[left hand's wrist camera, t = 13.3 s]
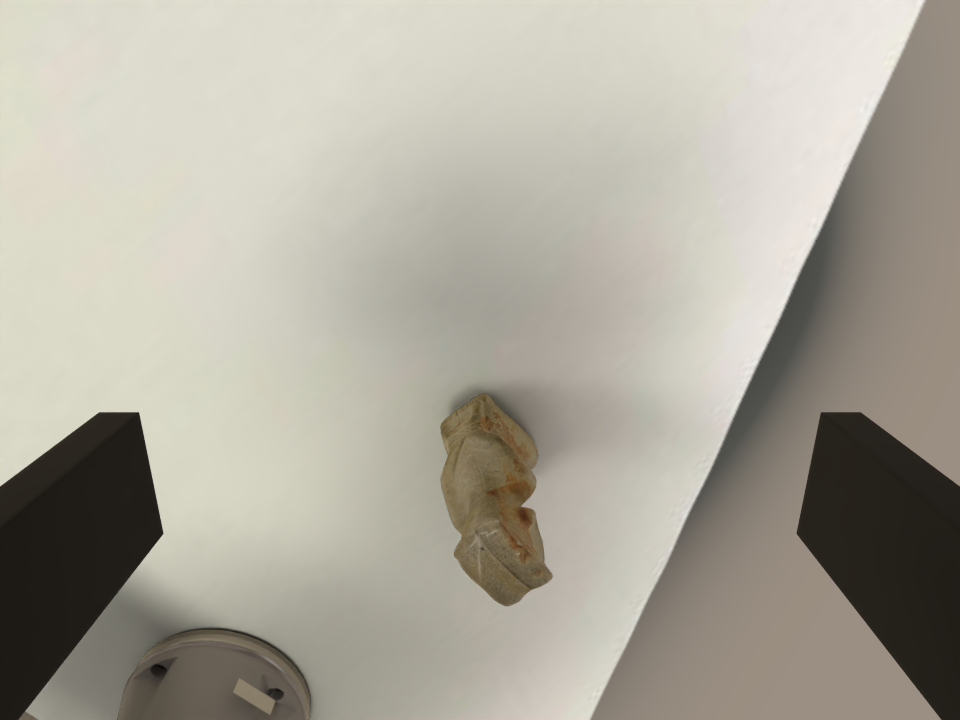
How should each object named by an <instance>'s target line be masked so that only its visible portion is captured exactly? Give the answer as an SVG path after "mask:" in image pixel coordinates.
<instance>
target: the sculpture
mask: <svg viewBox="0 0 960 720" xmlns="http://www.w3.org/2000/svg"><path fill="white" fill-rule="evenodd" d="M440 428H441V435H442V438H443V442H444V446H445V449H446V452H447V454H448V457H447V460H446V463H445V466H444V469H443V472H442V476H441V487H442V491H443V494H444V498H445V502H446V505H447V508H448V512H449V515H450V518H451V521H452V523H453V525H454V527H455V528H456V529H457V530H458V531H459V532H460V533H461V534H462V538H461V541H460V542H459V543H458V545H457V547H456V549H455V551H454V557H455V558H456V559H457V560H458V562H459V563H460V565H461V567H462V568H463V570H464V571H465V572H466V573H467V575H468V576H469V577H470V578H471V579H472V580H474V581H475V582H476V583H477V584H478V585H479V586H480V587H482V588H483V589H484V590H485V591H486V592H487V593H488V594H489V595H490V596H491V597H492V598H493V599H494V600H495V601H497V602H498V603H500V604H502V605H504V606H510V605H513V604H515V603H517V602H519V601H520V600H521V599H522V598H523V597H524V595H525V594H526V593H527V592H529V591H531V590H533V589H535V588H538V587H540V586H542V585H544V584H546V583H548V582H549V581H550V580H551V579H552V576H553V575H552V573H551V572H550V571H549V569H548V568H547V567H546V565H545V563H544V549H543V542H542V539H541V536H540V532H539V529H538V525H537V520H536V514H535V512H534V510H532V509H529V508H524V507H521V506H522V504H523V503H524V502H525V501H526V500H527V499H528V498H529V497H530V496H531V495H532V493H533V492H534V490H535V488H536V478H535V476H534V474H533V472H532V471H531V469H532V468H533V467H534V466H535V465H536V462H537V459H538V451H537V448H536V446H535V444H534V442H533V441H532V439H531V438H530V436H529V435H528V434H527V433H526V432H525V431H524V430H523V429H522V428H521V427H520V426H519V425H518V424H517V423H516V422H515V421H513V420H512V419H511V418H510V417H509V416H507V415H506V414H505V413H504V412H503V411H502V410H501V409H500V408H499V407H498V406H497V405H496V404H495V403H494V402H493V400H492V399H491V398H490V397H489V396H488V395H486V394H480V395H478V396H476V397H475V398H473V399H472V400H470V402H469V403H467V404H465V405H464V406H462V407H461V408H459V409H458V410H456V411H455V412H453V413H452V414H451V415H450V416H449V417H447V418H446V419H445V420H444V421H443V422H442V424H441V427H440Z"/></svg>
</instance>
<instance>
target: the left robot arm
mask: <svg viewBox="0 0 960 720" xmlns="http://www.w3.org/2000/svg"><path fill="white" fill-rule="evenodd" d="M162 535H163V529H162V524H161V519H160V514H159V509H158V504H157V499H156V494H155V489H154V484H153V479H152V474H151V469H150V465H149V460H148V455H147V450H146V445H145V440H144V435H143V430H142V425H141V420H140V415H139V412H99V413H98V414H96V415H95V416H94V417H92V418H91V419H90V420H88V421H87V422H86V423H84V424H83V425H82V426H80V427H79V428H78V429H76V430H75V431H74V432H72V433H71V434H70V435H68V436H67V437H66V438H64V439H63V440H62V441H60V442H59V443H58V444H56V445H55V446H54V447H52V448H51V449H50V450H48V451H47V452H46V453H44V454H43V455H42V456H40V457H39V458H38V459H36V460H35V461H34V462H32V463H31V464H30V465H28V466H27V467H26V468H24V469H23V470H22V471H20V472H19V473H18V474H16V475H15V476H14V477H12V478H11V479H10V480H8V481H7V482H6V483H4V484H3V485H2V486H0V720H38V719H36V718H35V717H33V716H31V715H30V714H28V713H27V712H25V711H26V709H27V708H28V707H29V706H30V704H31V703H32V702H33V700H34V699H35V698H36V697H37V695H38V694H39V693H40V691H41V690H42V689H43V688H44V686H45V685H46V684H47V682H48V681H49V680H50V679H51V677H52V676H53V675H54V673H55V672H56V671H57V670H58V668H59V667H60V666H61V664H62V663H63V662H64V661H65V659H66V658H67V657H68V655H69V654H70V653H71V652H72V650H73V649H74V648H75V646H76V645H77V644H78V643H79V641H80V640H81V639H82V637H83V636H84V635H85V634H86V632H87V631H88V630H89V629H90V627H91V626H92V625H93V623H94V622H95V621H96V620H97V618H98V617H99V616H100V614H101V613H102V612H103V611H104V609H105V608H106V607H107V605H108V604H109V603H110V602H111V600H112V599H113V598H114V596H115V595H116V594H117V593H118V591H119V590H120V589H121V587H122V586H123V585H124V584H125V582H126V581H127V580H128V578H129V577H130V576H131V575H132V573H133V572H134V571H135V569H136V568H137V567H138V566H139V564H140V563H141V562H142V560H143V559H144V558H145V557H146V555H147V554H148V553H149V551H150V550H151V549H152V548H153V546H154V545H155V544H156V543H157V541H158V540H159V539H160V537H161V536H162ZM797 535H798V536H799V537H800V539H801V540H802V541H803V542H804V544H805V545H806V546H807V548H808V549H809V550H810V551H811V553H812V554H813V555H814V557H815V558H816V559H817V560H818V562H819V563H820V564H821V566H822V567H823V568H824V569H825V571H826V572H827V573H828V575H829V576H830V577H831V578H832V580H833V581H834V582H835V584H836V585H837V586H838V587H839V589H840V590H841V591H842V593H843V594H844V595H845V596H846V598H847V599H848V600H849V602H850V603H851V604H852V605H853V607H854V608H855V609H856V611H857V612H858V613H859V614H860V616H861V617H862V618H863V619H864V621H865V622H866V623H867V625H868V626H869V627H870V628H871V630H872V631H873V632H874V634H875V635H876V636H877V637H878V639H879V640H880V641H881V643H882V644H883V645H884V646H885V648H886V649H887V650H888V652H889V653H890V654H891V655H892V657H893V658H894V659H895V661H896V662H897V663H898V664H899V666H900V667H901V668H902V670H903V671H904V672H905V673H906V675H907V676H908V677H909V679H910V680H911V681H912V682H913V684H914V685H915V686H916V688H917V689H918V690H919V691H920V693H921V694H922V695H923V697H924V698H925V699H926V700H927V702H928V703H929V704H930V706H931V707H932V708H933V709H934V711H935V712H936V713H937V715H938V716H939V717H940V718H941V720H960V486H958V485H957V484H956V483H954V482H953V481H952V480H950V479H949V478H948V477H946V476H945V475H944V474H942V473H941V472H940V471H938V470H937V469H935V468H934V467H933V466H932V465H930V464H929V463H928V462H926V461H925V460H924V459H922V458H921V457H920V456H918V455H917V454H916V453H914V452H913V451H911V450H910V449H909V448H908V447H906V446H905V445H903V444H902V443H901V442H900V441H898V440H897V439H896V438H894V437H893V436H892V435H890V434H889V433H888V432H886V431H885V430H884V429H882V428H881V427H880V426H878V425H877V424H875V423H874V422H873V421H872V420H870V419H869V418H868V417H866V416H865V415H863V414H862V413H860V412H822V413H821V415H820V420H819V425H818V430H817V435H816V440H815V445H814V450H813V455H812V460H811V465H810V469H809V474H808V480H807V484H806V489H805V494H804V500H803V505H802V509H801V514H800V519H799V524H798V529H797ZM309 713H310V697H309V692H308V689H307V686H306V684H305V682H304V679H303V677H302V676H301V674H300V673H299V671H298V670H297V669H296V667H295V666H294V665H293V664H292V663H291V662H290V661H289V660H288V659H287V658H286V657H285V656H284V655H282V654H281V653H280V652H278V651H277V650H276V649H274V648H273V647H271V646H269V645H268V644H266V643H264V642H262V641H260V640H257V639H255V638H252V637H250V636H247V635H244V634H240V633H236V632H231V631H225V630H195V631H188V632H184V633H180V634H177V635H174V636H171V637H169V638H167V639H165V640H163V641H161V642H159V643H158V644H156V645H155V646H154V647H152V648H151V649H150V650H149V651H148V652H147V653H146V654H145V655H144V656H143V658H142V659H141V661H140V662H139V664H138V665H137V667H136V668H135V670H134V672H133V673H132V675H131V676H130V678H129V680H128V682H127V684H126V686H125V690H124V693H123V697H122V701H121V705H120V709H119V714H118V718H117V720H308V718H309Z"/></svg>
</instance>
